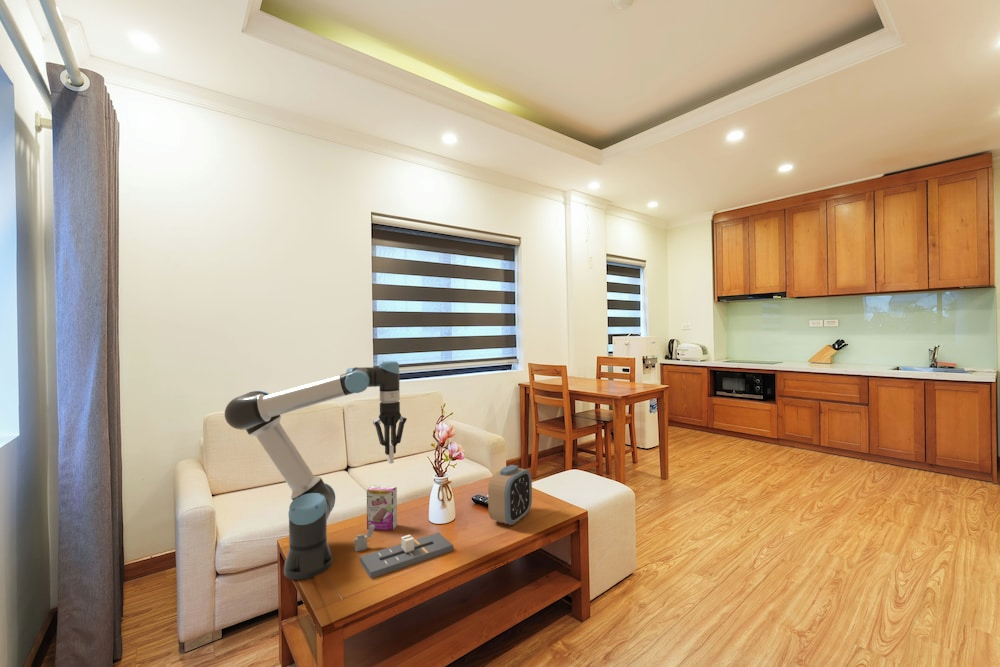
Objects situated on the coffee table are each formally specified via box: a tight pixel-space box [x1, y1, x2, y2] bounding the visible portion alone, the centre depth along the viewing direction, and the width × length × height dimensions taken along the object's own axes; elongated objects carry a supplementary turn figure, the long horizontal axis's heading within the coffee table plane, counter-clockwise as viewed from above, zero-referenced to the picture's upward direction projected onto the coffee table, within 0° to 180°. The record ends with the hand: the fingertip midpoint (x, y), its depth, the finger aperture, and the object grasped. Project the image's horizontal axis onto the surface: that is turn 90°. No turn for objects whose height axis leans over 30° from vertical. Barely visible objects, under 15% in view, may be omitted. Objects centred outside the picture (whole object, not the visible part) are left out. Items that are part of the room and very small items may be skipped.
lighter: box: [354, 524, 375, 552], centre depth 156 cm, size 7×2×8 cm, turn 117°
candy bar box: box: [366, 485, 398, 531], centre depth 172 cm, size 11×5×16 cm, turn 84°
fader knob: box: [400, 534, 415, 553], centre depth 149 cm, size 3×4×6 cm
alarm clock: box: [487, 464, 533, 526], centre depth 178 cm, size 21×10×22 cm, turn 148°
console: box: [359, 532, 454, 579], centre depth 149 cm, size 30×12×2 cm, turn 124°
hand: (390, 462), depth 163 cm, fingers closed
